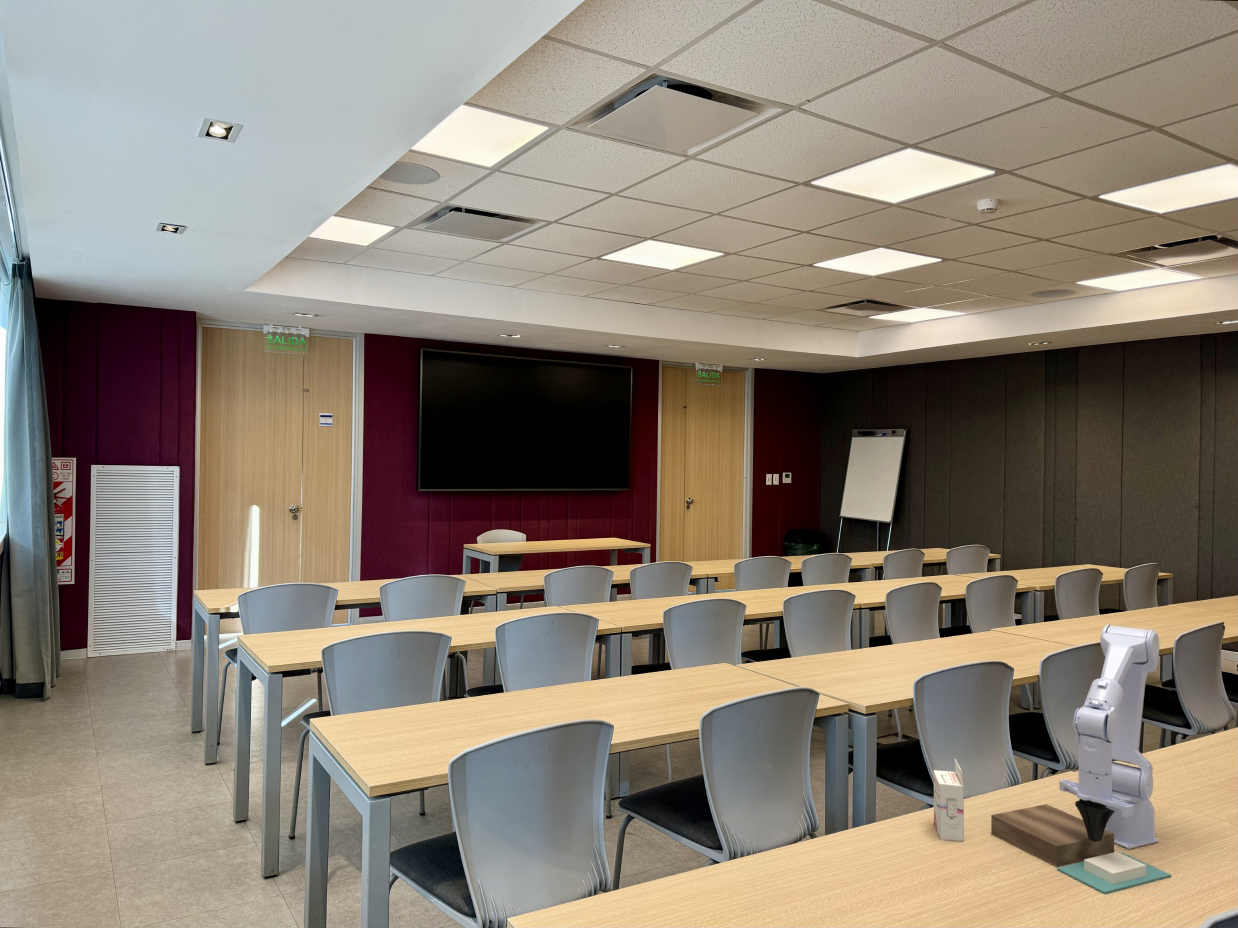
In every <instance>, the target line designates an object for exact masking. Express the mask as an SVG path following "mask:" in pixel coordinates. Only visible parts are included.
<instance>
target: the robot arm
mask: <svg viewBox="0 0 1238 928" xmlns="http://www.w3.org/2000/svg"><path fill="white" fill-rule="evenodd" d="M1158 634H1159V633H1157V632H1156V631H1155V630H1154V629H1145V628H1144V629H1143V628H1134V627H1125V626H1118V625H1112V624H1107V623H1106V624H1105V626H1103V628H1102V629H1101V632H1100V647H1101V650H1102V653H1103V656H1104V658H1105V659H1104V662H1103V667H1102V670H1101V675H1100V678H1096V679H1093V681H1092V683H1091V685H1090V688H1089V689H1088V693H1087V695H1086V699H1085V700H1084V702H1083V703H1084V704H1083V706H1082V707H1078V708H1077V709H1076V710H1075V711H1074V715H1073V722H1072V725H1073V733H1074V734H1075V743H1076V744H1077V746H1078V747H1077V749H1078V752H1077V753H1078V757H1077V758H1078V761H1077V762H1078V765H1077V767H1078V777H1077V778H1078V781H1077V782H1076V781H1072V780H1069V779H1062V780H1059V783H1058V784H1059V786H1058V787H1059V791H1061V792H1063V793H1064V792H1068V793H1070V794H1071V795H1074V796H1076V798H1078V800H1075V802H1074V805H1075V807H1076V809H1077V811H1078V812H1079V814H1080V816H1081V819H1082V820H1083V821H1084V824H1085V827H1086V831H1087V835H1088V838H1089V840H1091V841H1094V842H1097V841H1101V840H1102V837H1103V833H1104V830H1107V831H1110V832H1112V833H1114V844H1116V845H1118V846H1120V847H1122V848H1124V849H1133V848H1137V847H1142V846H1146V845H1150V844H1155V843H1158V842H1159V839H1158V838H1156V837H1155V808H1154V805H1153V803H1152V801H1151V797H1152V794H1153V791H1154V777H1153V770H1154V767H1153V765H1152V762H1151V761H1150V760H1149V759H1148V758H1146V756H1145V755H1143V754H1142V753H1141V752H1140V750H1139V749H1140V738H1141V729H1142V718H1143V710H1144V700H1145V699H1144V698H1145V688H1146V681H1147V678H1148V673H1151V672H1155V671H1157V667H1158V664H1159V655H1160V638H1159V635H1158ZM1115 761H1116V762H1115ZM1117 761H1118V762H1117ZM1119 762H1122V763H1119ZM1124 763H1125V764H1124ZM1128 764H1130V765H1128ZM1132 765H1134V766H1132ZM1137 766H1138V767H1137Z"/></svg>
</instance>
